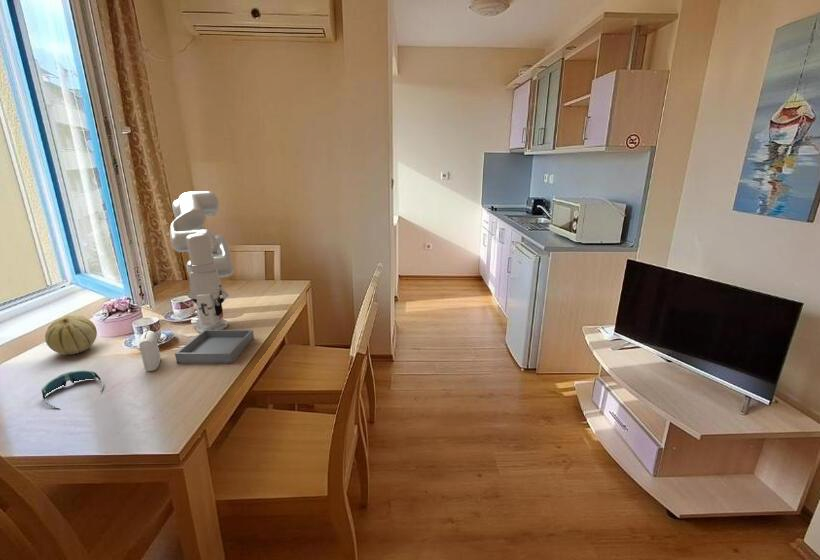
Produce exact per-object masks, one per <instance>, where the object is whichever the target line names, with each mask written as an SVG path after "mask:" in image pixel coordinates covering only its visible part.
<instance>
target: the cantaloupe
mask: <svg viewBox="0 0 820 560" xmlns="http://www.w3.org/2000/svg"><path fill="white" fill-rule="evenodd" d="M97 335H98V330H97V327H96V325H95V324H94V322H93V321H91V320H90V319H89V318H87V317H85V316H82V315H76V314H73V315H66V316H62V317H59V318H57V319H56V320H54V321H53V322H51V323H50V325H49V326H48V328H47V330H46V332H45V334H44V336H45V337H44V339H45V341H44V342H45V343H46V345H47V347H48V348H49V349H51V350H52V351H53V352H55V353H56V354H57V353H58V354H61V355H66V354H70V355H75V353H77V354H79V352H80V353H82V351H83V352H84V350H85V351H87V350H88V349H89V348H90V347H91V346H92V345H93V344H94V343H95V341H96V339H97Z"/></svg>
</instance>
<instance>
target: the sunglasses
mask: <svg viewBox="0 0 820 560" xmlns="http://www.w3.org/2000/svg"><path fill="white" fill-rule="evenodd" d="M85 379H94V381H96V380H98V381H99V382H100V384H101V389H100V392H101V391H102V390H103V391H104V382H103V380H102V379H101V377H100V376H99V375H98V374H97V372H96V371H95V370H88V369H85V370H84V369H83V370H79V369H78V370H71V371H68V372H63V373H62V374H59V375H57V376H55V377H53V378H52V379H51V380H49V381H48V382H47V383H45V385H43V387H42V388H41V394H42V399H43V401H44V402H45V404H46V405H47V406H48V405H49V406H48V407H50V406H51V407H50V408H52V407H56V406H55V405H53V404H51V403H49V402H48V399H47V398H48V397H45V396H46V394H47V393H49V392H51V391H52V390H54V389H56V388H58V387H60V386H62V385H64V386H65V387H66V386H67V382H69V381H70V382H71V383H72V384H73V383H74V381H79V380H85ZM95 379H96V380H95ZM103 391H102V392H103ZM100 392H99V393H100Z"/></svg>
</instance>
